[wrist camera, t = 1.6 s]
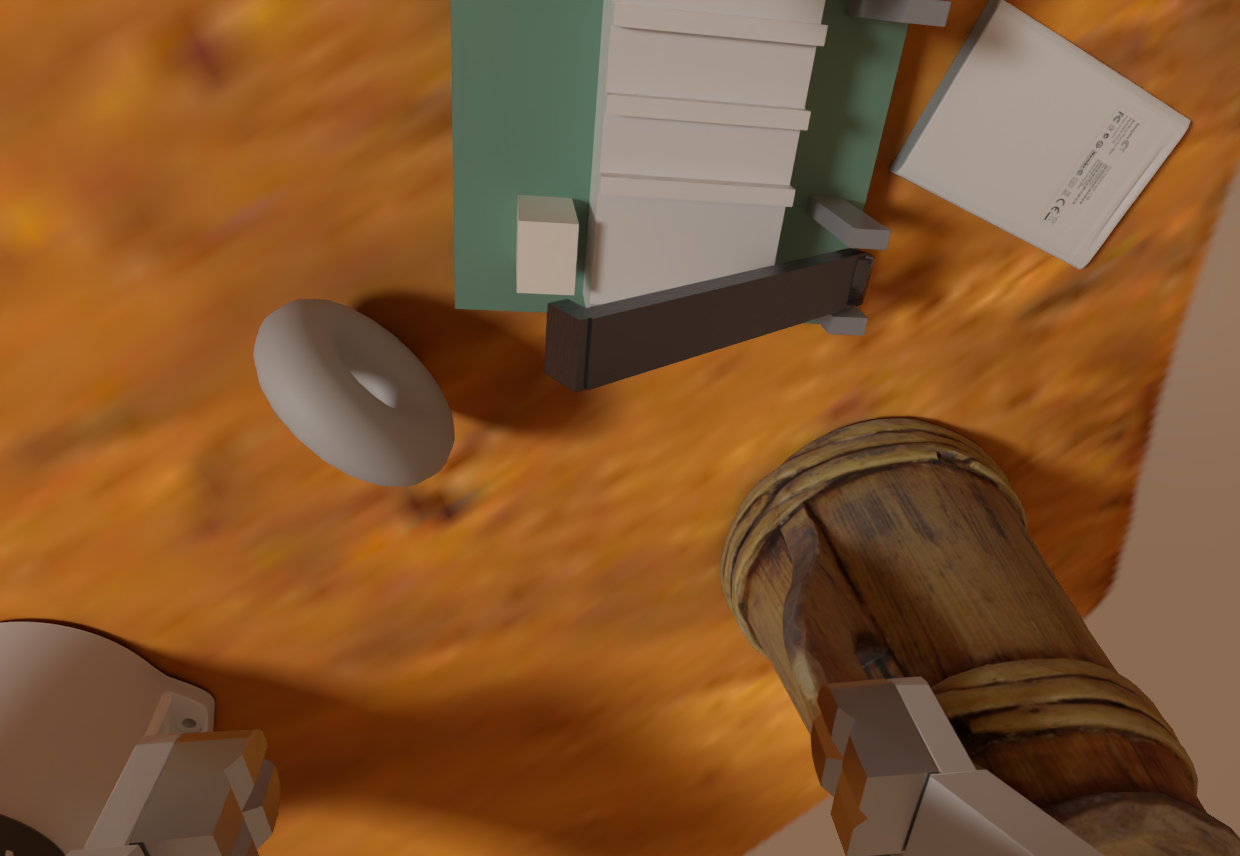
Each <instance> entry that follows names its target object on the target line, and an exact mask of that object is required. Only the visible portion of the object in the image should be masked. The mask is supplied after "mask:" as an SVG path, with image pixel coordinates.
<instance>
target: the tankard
mask: <svg viewBox="0 0 1240 856" xmlns="http://www.w3.org/2000/svg"><path fill="white" fill-rule="evenodd" d="M720 567H721V584H722V589H723V593H724V595H725V597H726V601H727V605H728V607H729V609H730V611H731V612H732V614H733V616H734V618H735V619H736V621H737V624H738V626H739V627H740V629H741V630H742V632H743V633H744V635H745V636H746V638H747V640H748V641H749V643H750V644H751V645H752V646H753V647H754V648H755V649H756V650H757V651H759V652H760V653H761V654H762V655H763V656H765V657H766V658H767V659H768V660H770V662H771V664H772V665H773V667H774V669H775V671H776V672H777V674H778V676H779V678H780V679H781V681H782V683H783V685H784V687H785V688H786V690H787V692H788V694H789V696H790V698H791V700H792V702H793V704H794V706H795V707H796V709H797V711H798V713H799V715H800V717H801V719H802V720H803V722H804V724H805V726H806V728H807V730H808V732H809V733H810V735H811V731H812V725H813V721H814V720H815V719H816V718H817V717H818V716H819V715H820V714H821V710H820V708H819V705H818V702H817V699H818V694H819V689H820V688H821V687H822V686H823V684H830V683H841V682H852V681H863V680H874V679H886V680H887V679H894V678H907V677H922V678H923V679H924V680H925V681H927V683H928V684H929V686H930V688H931V690H932V692H933V693H934V695H935V697H936V699H937V700H938V702H939V704H940V706H941V708H942V709H943V711H944V713H945V715H946V716H947V718H948V720H949V722H950V724H951V725H952V727H953V729H954V731H955V733H956V734H957V736H958V738H959V740H960V741H961V743H962V745H963V747H964V749H965V750H966V752H967V754H968V756H969V757H970V759H971V761H972V763H973V765H974V766H975V768H976V770H985V769H986V770H988V771H989V772H991V773H992V774H993V775H995V776H996V777H997V778H999V779H1000V780H1001V781H1003V782H1004V783H1006V784H1007V785H1008V786H1010V787H1011V788H1012V789H1014V790H1015V791H1017V792H1018V793H1019V794H1021V795H1022V796H1023V797H1025V798H1026V799H1028V800H1029V801H1030V802H1032V803H1033V804H1034V805H1036V806H1037V807H1039V808H1040V809H1041V810H1043V811H1044V812H1045V813H1047V814H1048V815H1050V816H1051V817H1052V818H1054V819H1055V820H1056V821H1058V822H1059V823H1060V824H1062V825H1063V826H1065V827H1066V828H1067V829H1069V830H1070V831H1071V832H1073V833H1074V834H1076V835H1077V836H1078V837H1080V838H1081V839H1082V840H1084V841H1085V842H1087V843H1088V844H1089V845H1091V846H1092V847H1093V848H1095V849H1096V850H1098V851H1099V852H1100V853H1102V854H1103V855H1104V856H1240V838H1239V837H1238V836H1237V835H1236V833H1235V832H1234V831H1233V830H1232V829H1231V828H1230V827H1229V826H1227V825H1225V824H1224V823H1222V822H1220V821H1219V820H1217V819H1215V818H1214V817H1212V816H1211V815H1209V814H1208V813H1207V812H1206V811H1205V809H1204V808H1203V806H1202V804H1201V803H1200V801H1199V799H1198V798H1197V796H1196V795H1197V783H1198V778H1197V775H1196V771H1195V768H1194V765H1193V763H1192V761H1191V759H1190V758H1189V756H1188V754H1187V752H1186V751H1185V749H1184V748H1183V747H1182V746H1181V744H1180V742H1179V740H1178V739H1177V737H1176V735H1175V733H1174V731H1173V729H1172V728H1171V727H1170V725H1169V724H1168V723H1167V722H1166V721H1165V720H1164V718H1163V717H1162V715H1161V714H1160V712H1159V711H1158V709H1157V708H1156V706H1155V705H1154V703H1153V702H1152V701H1151V700H1150V699H1149V698H1148V697H1147V696H1146V695H1145V694H1144V693H1143V692H1142V691H1141V690H1140V689H1139V688H1138V687H1137V686H1136V685H1134V684H1133V683H1132V682H1131V681H1130V680H1128V679H1126V678H1125V677H1123V676H1121V675H1120V674H1118V672H1117V671H1116V670H1115V668H1114V667H1113V665H1112V664H1111V662H1110V661H1109V659H1108V658H1107V656H1106V655H1105V653H1104V652H1103V651H1102V649H1101V648H1100V646H1099V645H1098V643H1097V642H1096V640H1095V639H1094V638H1093V636H1092V635H1091V633H1090V632H1089V630H1088V628H1087V627H1086V625H1085V623H1084V621H1083V619H1082V618H1081V616H1080V614H1079V613H1078V611H1077V610H1076V608H1075V607H1074V605H1073V604H1072V602H1071V601H1070V599H1069V598H1068V596H1067V595H1066V593H1065V592H1064V590H1063V589H1062V587H1061V585H1060V584H1059V582H1058V581H1057V579H1056V578H1055V576H1054V575H1053V573H1052V572H1051V570H1050V569H1049V567H1048V566H1047V564H1046V563H1045V561H1044V560H1043V558H1042V556H1041V555H1040V553H1039V551H1038V550H1037V548H1036V546H1035V544H1034V543H1033V541H1032V539H1031V538H1030V536H1029V534H1028V525H1027V519H1026V513H1025V510H1024V508H1023V506H1022V503H1021V501H1020V499H1019V497H1018V495H1017V494H1016V492H1015V491H1014V490H1013V488H1012V485H1011V483H1010V481H1009V480H1008V478H1007V477H1006V475H1005V474H1004V472H1003V471H1002V469H1001V468H1000V467H999V466H998V464H997V463H996V462H995V461H994V460H993V459H992V458H991V457H990V456H989V455H988V454H987V453H986V452H985V451H983V450H982V449H981V448H980V447H979V446H978V445H976V444H975V443H974V442H972V441H971V440H969V439H967V438H965V437H964V436H962V435H960V434H957V433H955V432H953V431H950V430H948V429H946V428H943V427H941V426H938V425H934V424H931V423H928V422H924V421H921V420H917V419H906V418H894V419H875V420H870V421H865V422H860V423H856V424H853V425H849V426H846V427H843V428H839V429H837V430H835V431H832V432H830V433H828V434H826V435H824V436H822V437H820V438H819V439H817V440H815V441H813V442H811V443H809V444H807V445H805V446H804V447H803V448H801V449H800V450H799V451H797V452H796V453H795V454H793V455H792V456H791V457H789V458H788V459H787V460H786V461H785V462H784V463H783V464H782V465H781V466H780V467H779V468H777V469H776V470H775V471H773V472H772V473H770V474H769V475H768V476H766V477H765V478H764V479H762V480H761V481H759V483H758V484H757V485H756V486H755V487H754V488H753V489H752V490H751V492H750V493H749V494H748V496H747V497H746V498H745V500H744V501H743V502H742V503H741V506H740V508H739V510H738V512H737V514H736V516H735V518H734V520H733V522H732V524H731V526H730V529H729V533H728V536H727V539H726V542H725V545H724V549H723V552H722V556H721V561H720ZM871 856H904V853H900V854H885V855H871Z"/></svg>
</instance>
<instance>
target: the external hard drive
mask: <svg viewBox="0 0 1240 856" xmlns="http://www.w3.org/2000/svg"><path fill="white" fill-rule="evenodd" d="M1190 122H1191V121H1190V120H1189V119H1188V118H1186V117H1184V116H1183V115H1181V114H1180V113H1178V112H1177V111H1175V110H1173V109H1172V108H1171V107H1169V106H1168V105H1166V104H1165V103H1163V102H1162V101H1160V100H1158V99H1157V98H1155V97H1154V96H1152V95H1151V94H1149V93H1148V92H1146V91H1145V90H1143V89H1142V88H1140V87H1139V86H1137V85H1135V84H1134V83H1132V82H1131V81H1129V80H1128V79H1126V78H1125V77H1123V76H1122V75H1120V74H1118V73H1117V72H1115V71H1114V70H1112V69H1111V68H1109V67H1108V66H1106V65H1105V64H1103V63H1101V62H1100V61H1098V60H1097V59H1095V58H1094V57H1092V56H1091V55H1089V54H1087V53H1086V52H1084V51H1083V50H1081V49H1080V48H1078V47H1077V46H1075V45H1074V44H1072V43H1071V42H1069V41H1067V40H1066V39H1064V38H1063V37H1061V36H1060V35H1058V34H1057V33H1055V32H1053V31H1052V30H1050V29H1049V28H1047V27H1046V26H1044V25H1043V24H1041V23H1039V22H1038V21H1036V20H1034V19H1033V18H1031V17H1030V16H1028V15H1027V14H1025V13H1024V12H1022V11H1021V10H1019V9H1018V8H1016V7H1014V6H1013V5H1011V4H1009V3H1008V2H1006V1H1005V0H989V2H988V4H987V5H986V7H985V9H984V10H983V12H982V14H981V15H980V17H979V19H978V20H977V22H976V24H975V26H974V27H973V29H972V31H971V32H970V34H969V36H968V37H967V39H966V41H965V43H964V44H963V46H962V48H961V49H960V51H959V53H958V54H957V56H956V58H955V59H954V61H953V63H952V64H951V66H950V68H949V69H948V71H947V73H946V74H945V76H944V78H943V80H942V81H941V83H940V85H939V86H938V88H937V90H936V91H935V93H934V95H933V96H932V98H931V100H930V101H929V103H928V105H927V107H926V108H925V110H924V112H923V113H922V115H921V117H920V118H919V120H918V122H917V123H916V125H915V127H914V128H913V130H912V132H911V133H910V135H909V137H908V138H907V140H906V142H905V143H904V145H903V147H902V148H901V150H900V152H899V153H898V155H897V157H896V159H895V160H894V162H893V163H892V165H891V167H890V169H889V171H890V172H892V173H894V174H896V175H898V176H900V177H902V178H904V179H906V180H908V181H910V182H911V183H913V184H915V185H917V186H919V187H921V188H923V189H925V190H927V191H929V192H931V193H933V194H935V195H937V196H939V197H941V198H943V199H945V200H947V201H948V202H950V203H952V204H954V205H956V206H958V207H960V208H962V209H964V210H966V211H968V212H970V213H972V214H974V215H975V216H977V217H979V218H981V219H983V220H985V221H987V222H989V223H991V224H993V225H995V226H997V227H998V228H1000V229H1002V230H1004V231H1006V232H1008V233H1010V234H1012V235H1014V236H1016V237H1018V238H1020V239H1022V240H1024V241H1026V242H1028V243H1029V244H1031V245H1033V246H1035V247H1037V248H1039V249H1041V250H1043V251H1045V252H1047V253H1049V254H1051V255H1053V256H1055V257H1057V258H1058V259H1060V260H1062V261H1064V262H1066V263H1068V264H1070V265H1072V266H1074V267H1076V268H1078V269H1082V268H1084V267H1085V266H1086V265H1087V264H1088V263H1089V262H1090V260H1091V259H1092V258H1093V256H1094V255H1095V254H1096V252H1097V251H1098V250H1099V248H1100V247H1101V246H1102V244H1103V243H1104V242H1105V240H1106V239H1107V237H1108V236H1109V235H1110V233H1111V232H1112V231H1113V229H1114V228H1115V227H1116V225H1117V224H1118V222H1119V221H1120V220H1121V218H1122V217H1123V216H1124V214H1125V213H1126V212H1127V210H1128V209H1129V208H1130V206H1131V205H1132V203H1133V202H1134V201H1135V199H1136V198H1137V197H1138V196H1139V194H1140V193H1141V192H1142V190H1143V189H1144V188H1145V186H1146V185H1147V184H1148V182H1149V181H1150V180H1151V178H1152V177H1153V176H1154V174H1155V173H1156V171H1157V170H1158V169H1159V167H1160V166H1161V165H1162V163H1163V162H1164V161H1165V159H1166V158H1167V157H1168V155H1169V154H1170V153H1171V151H1172V150H1173V149H1174V147H1175V146H1176V145H1177V143H1178V142H1179V141H1180V139H1181V138H1182V137H1183V135H1184V134H1185V132H1186V131H1187V129H1188V127H1189V125H1190Z"/></svg>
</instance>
